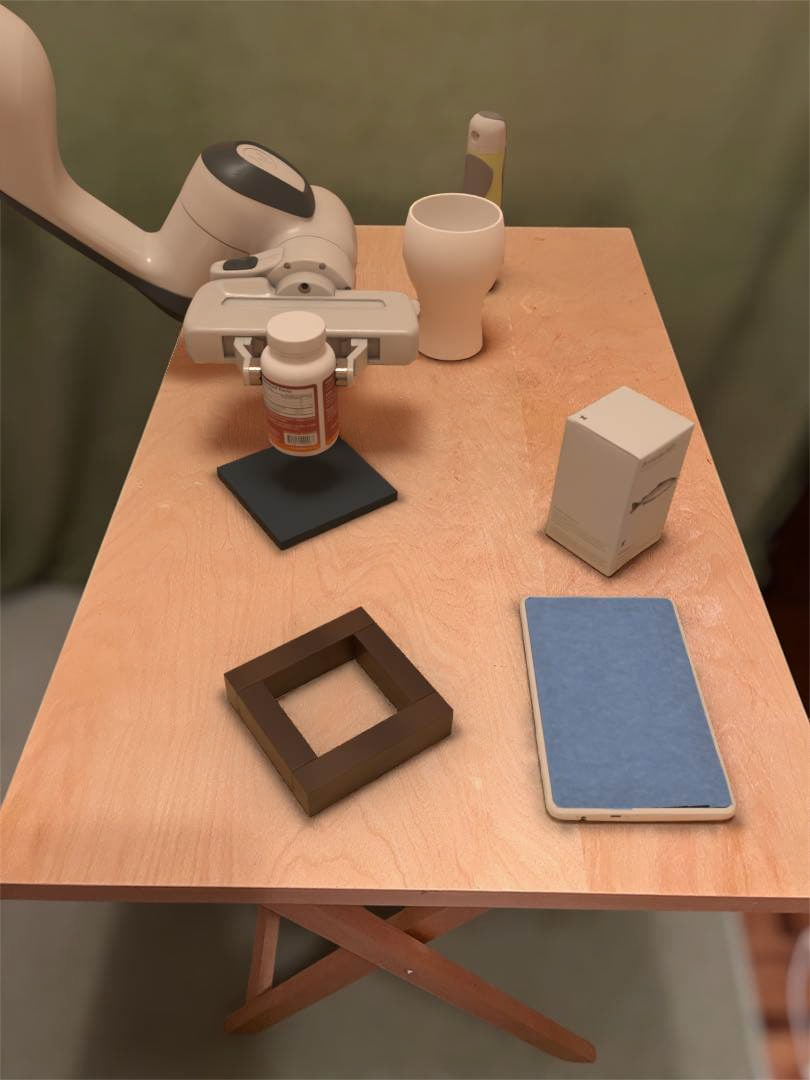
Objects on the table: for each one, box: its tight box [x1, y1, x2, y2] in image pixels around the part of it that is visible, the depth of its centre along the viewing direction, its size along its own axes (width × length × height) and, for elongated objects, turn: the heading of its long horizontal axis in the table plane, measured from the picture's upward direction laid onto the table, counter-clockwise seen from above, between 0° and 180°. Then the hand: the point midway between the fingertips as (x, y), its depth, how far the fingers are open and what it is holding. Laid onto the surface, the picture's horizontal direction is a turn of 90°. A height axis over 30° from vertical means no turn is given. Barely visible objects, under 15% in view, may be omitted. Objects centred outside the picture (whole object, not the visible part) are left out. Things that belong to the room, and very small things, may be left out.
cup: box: [402, 192, 507, 361], centre depth 97 cm, size 11×11×15 cm
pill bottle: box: [260, 311, 340, 456], centre depth 76 cm, size 6×6×11 cm
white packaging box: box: [544, 384, 696, 577], centre depth 75 cm, size 7×7×13 cm
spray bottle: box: [462, 110, 508, 289], centre depth 105 cm, size 5×5×20 cm
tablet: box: [518, 595, 737, 822], centre depth 66 cm, size 19×13×1 cm, turn 1°
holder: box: [223, 605, 454, 818], centre depth 64 cm, size 12×12×3 cm
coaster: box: [216, 434, 399, 551], centre depth 83 cm, size 12×12×1 cm
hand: (297, 379), depth 75 cm, fingers closed on pill bottle, 6 cm apart
